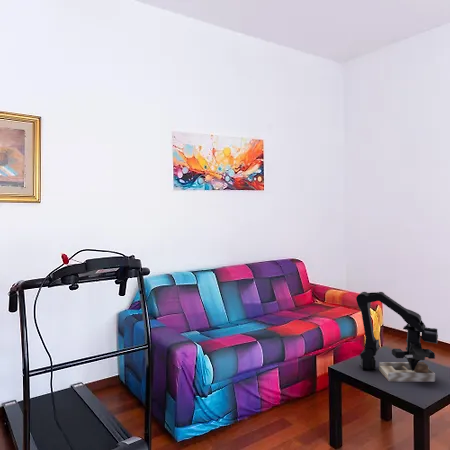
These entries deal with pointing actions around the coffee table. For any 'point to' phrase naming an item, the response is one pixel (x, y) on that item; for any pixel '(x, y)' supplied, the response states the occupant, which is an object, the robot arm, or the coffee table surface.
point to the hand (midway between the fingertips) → (412, 370)
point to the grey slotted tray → (404, 372)
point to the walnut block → (421, 368)
